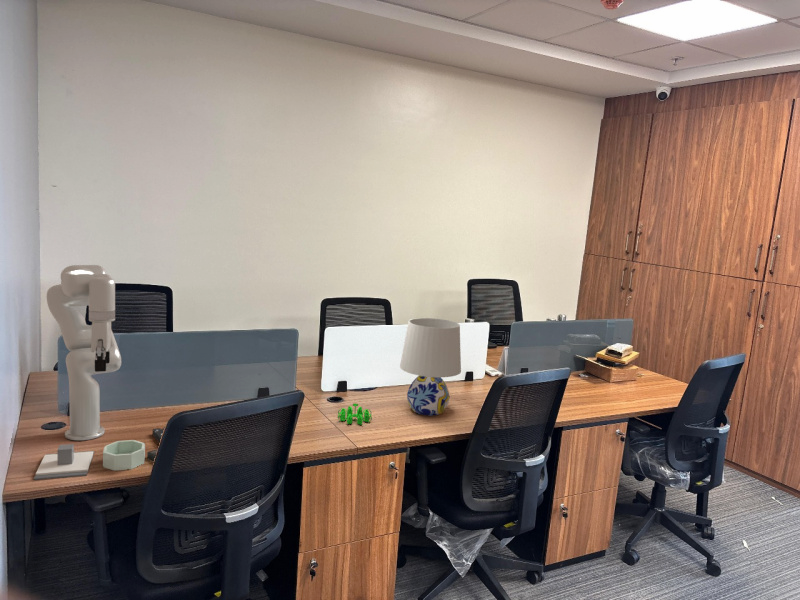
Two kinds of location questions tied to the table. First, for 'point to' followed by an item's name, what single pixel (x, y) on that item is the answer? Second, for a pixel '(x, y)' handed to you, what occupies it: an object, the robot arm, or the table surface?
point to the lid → (65, 461)
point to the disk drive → (158, 433)
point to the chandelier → (354, 415)
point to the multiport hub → (151, 455)
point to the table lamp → (431, 362)
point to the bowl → (124, 455)
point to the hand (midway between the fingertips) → (102, 367)
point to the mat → (62, 475)
